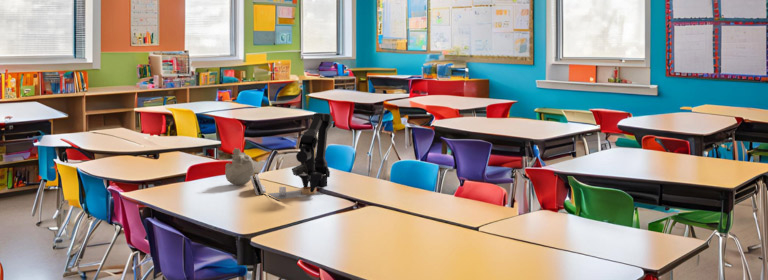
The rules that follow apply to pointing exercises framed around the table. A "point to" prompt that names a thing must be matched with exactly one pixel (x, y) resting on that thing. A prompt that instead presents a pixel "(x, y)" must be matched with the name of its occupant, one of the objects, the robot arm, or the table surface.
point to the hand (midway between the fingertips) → (308, 190)
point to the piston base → (290, 194)
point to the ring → (307, 190)
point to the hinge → (257, 184)
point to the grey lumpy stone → (239, 168)
